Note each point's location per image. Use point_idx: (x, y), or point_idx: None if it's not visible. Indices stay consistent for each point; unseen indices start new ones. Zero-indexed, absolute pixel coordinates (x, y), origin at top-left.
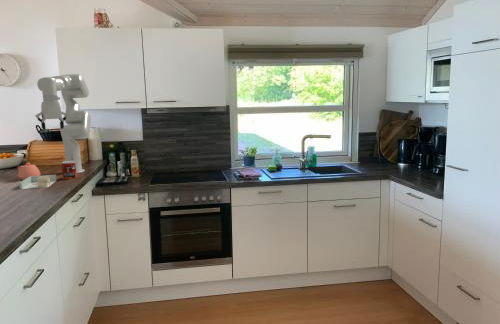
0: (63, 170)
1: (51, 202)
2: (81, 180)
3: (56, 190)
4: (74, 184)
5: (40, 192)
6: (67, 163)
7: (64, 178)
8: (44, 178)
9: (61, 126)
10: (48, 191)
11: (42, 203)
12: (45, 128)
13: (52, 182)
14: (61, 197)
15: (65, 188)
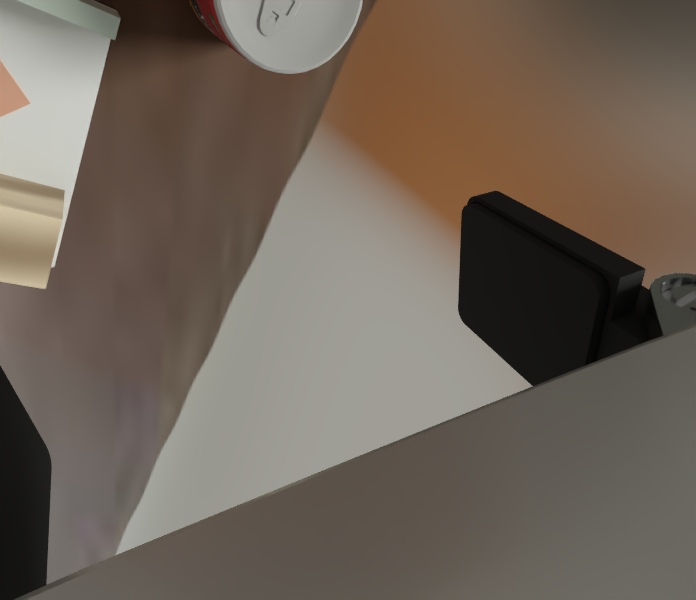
0: (206, 16)
1: (93, 553)
2: (309, 110)
3: (115, 344)
4: (240, 227)
5: (6, 354)
6: (268, 69)
7: (193, 9)
8: (24, 284)
9: (489, 319)
10: (62, 349)
11: (51, 560)
12: (46, 478)
13: (79, 94)
14: (140, 493)
15: (172, 316)
